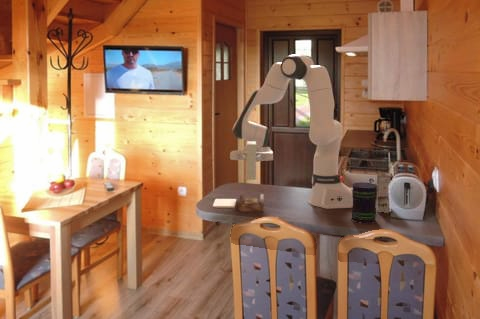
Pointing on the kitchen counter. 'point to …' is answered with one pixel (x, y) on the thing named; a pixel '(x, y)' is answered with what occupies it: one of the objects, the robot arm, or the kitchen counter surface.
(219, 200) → the pad
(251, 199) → the offcut stack
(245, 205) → the offcut rack
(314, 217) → the kitchen counter surface
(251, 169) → the tall board
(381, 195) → the coffee box
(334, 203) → the robot arm
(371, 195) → the storage jar
